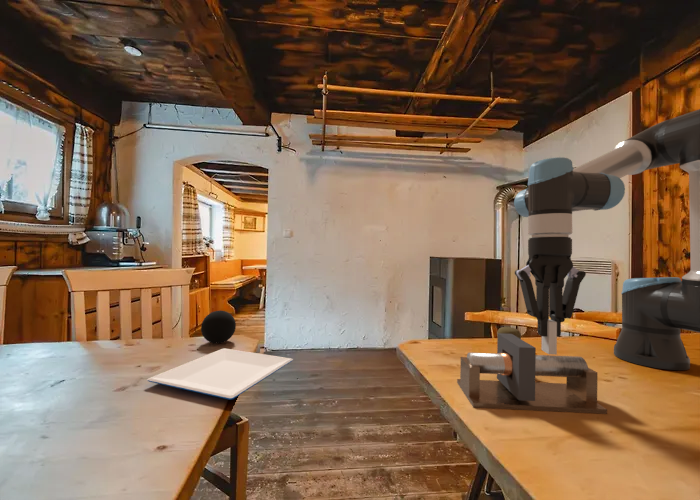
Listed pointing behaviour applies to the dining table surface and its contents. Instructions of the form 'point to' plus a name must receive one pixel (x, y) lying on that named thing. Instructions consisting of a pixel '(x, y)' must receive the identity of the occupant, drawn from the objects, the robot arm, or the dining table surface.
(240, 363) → the plate
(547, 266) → the robot arm
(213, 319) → the decorative ball
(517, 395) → the collar
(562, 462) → the dining table surface
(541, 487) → the dining table surface
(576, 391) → the pipe rig
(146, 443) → the dining table surface
